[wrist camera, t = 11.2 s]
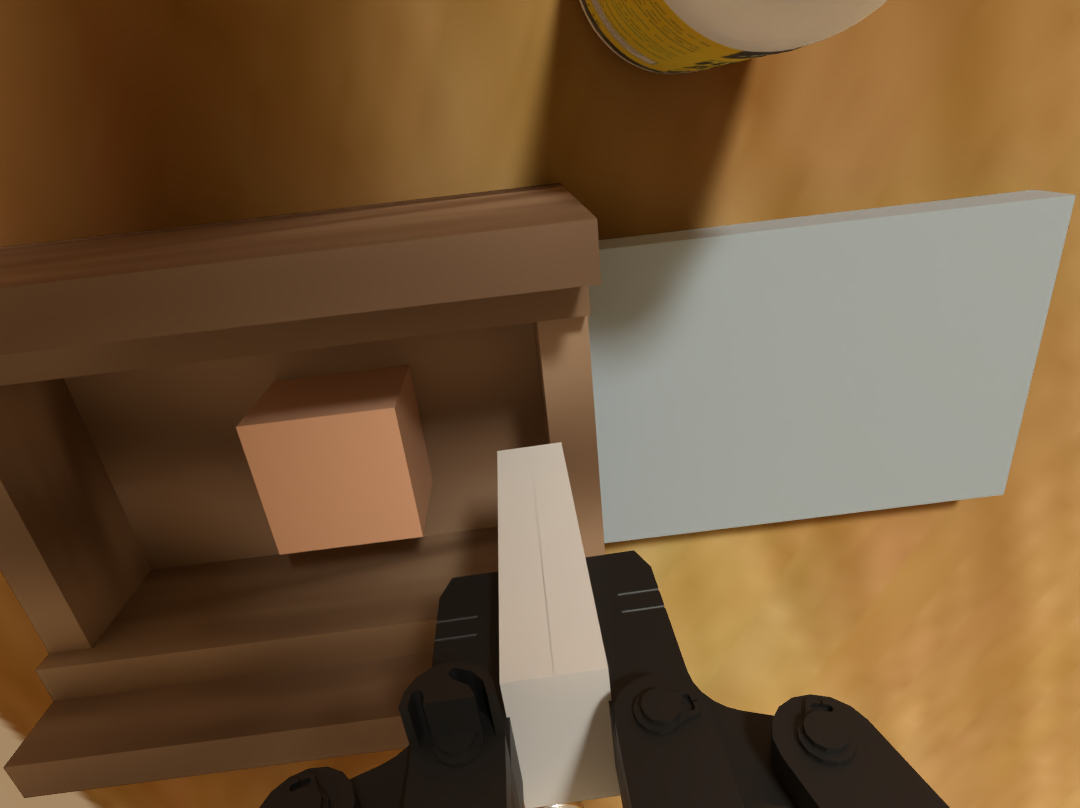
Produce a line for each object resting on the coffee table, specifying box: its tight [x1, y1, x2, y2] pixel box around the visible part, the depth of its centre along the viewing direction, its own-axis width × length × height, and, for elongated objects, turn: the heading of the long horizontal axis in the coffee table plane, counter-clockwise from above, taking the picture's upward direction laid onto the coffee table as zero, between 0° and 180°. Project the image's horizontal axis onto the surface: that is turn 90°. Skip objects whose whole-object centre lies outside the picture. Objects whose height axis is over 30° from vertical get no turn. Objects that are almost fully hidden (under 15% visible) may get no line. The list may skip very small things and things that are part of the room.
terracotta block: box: [236, 365, 433, 555], centre depth 18 cm, size 4×4×3 cm
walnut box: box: [0, 183, 605, 798], centre depth 17 cm, size 13×16×7 cm
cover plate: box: [588, 190, 1076, 543], centre depth 20 cm, size 10×14×2 cm
